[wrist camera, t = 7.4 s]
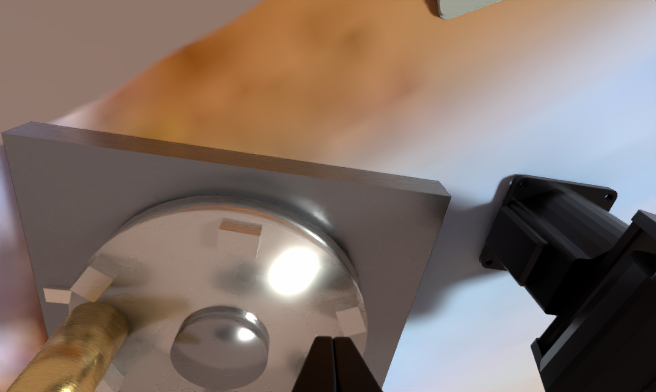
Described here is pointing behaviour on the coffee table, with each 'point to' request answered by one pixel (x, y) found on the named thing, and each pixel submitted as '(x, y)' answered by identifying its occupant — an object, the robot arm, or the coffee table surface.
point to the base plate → (218, 179)
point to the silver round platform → (201, 303)
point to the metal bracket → (460, 7)
